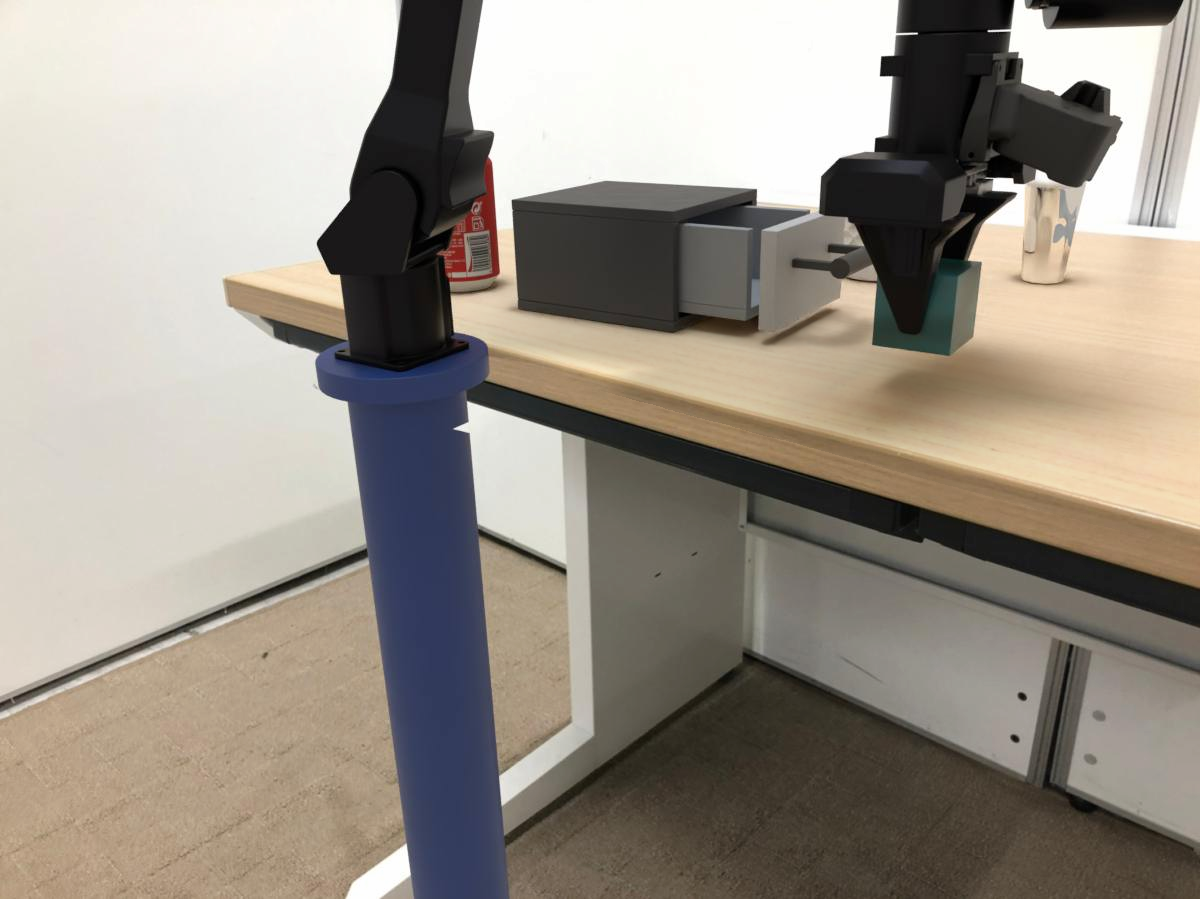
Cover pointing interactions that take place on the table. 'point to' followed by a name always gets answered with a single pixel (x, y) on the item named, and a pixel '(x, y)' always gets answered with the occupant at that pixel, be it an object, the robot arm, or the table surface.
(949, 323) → the block
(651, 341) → the table surface
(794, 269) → the drawer
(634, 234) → the cabinet
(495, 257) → the beverage can
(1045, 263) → the milkshake
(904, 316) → the robot arm
